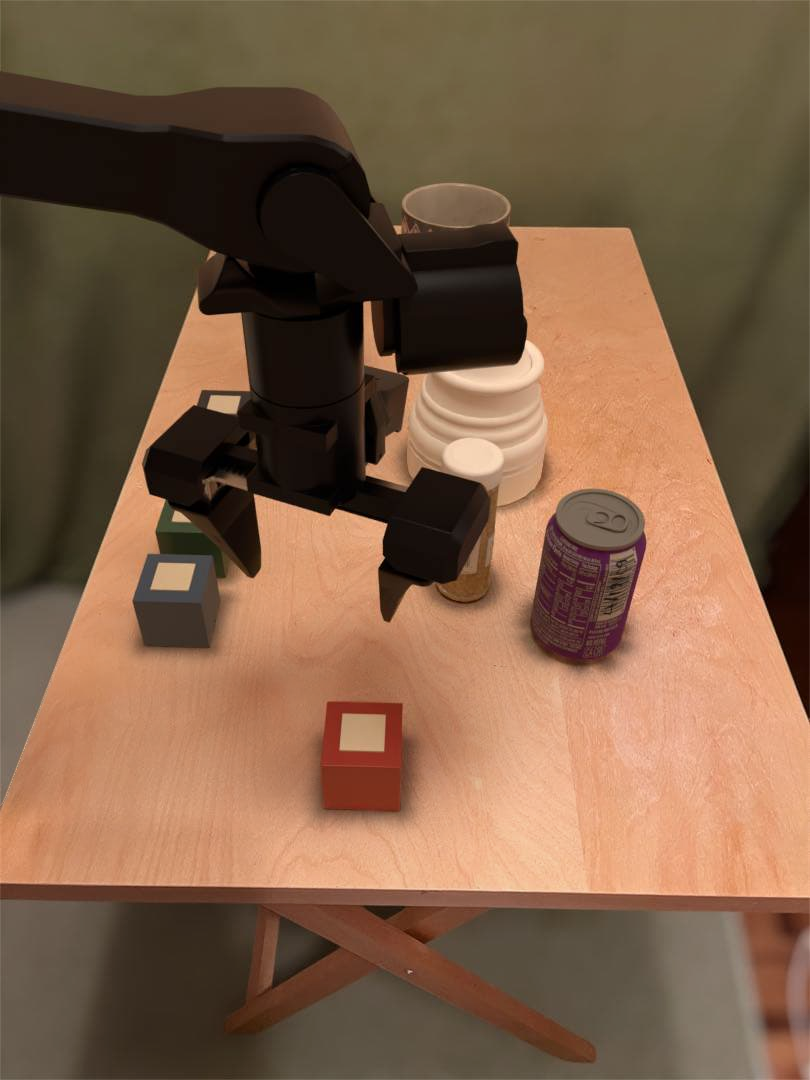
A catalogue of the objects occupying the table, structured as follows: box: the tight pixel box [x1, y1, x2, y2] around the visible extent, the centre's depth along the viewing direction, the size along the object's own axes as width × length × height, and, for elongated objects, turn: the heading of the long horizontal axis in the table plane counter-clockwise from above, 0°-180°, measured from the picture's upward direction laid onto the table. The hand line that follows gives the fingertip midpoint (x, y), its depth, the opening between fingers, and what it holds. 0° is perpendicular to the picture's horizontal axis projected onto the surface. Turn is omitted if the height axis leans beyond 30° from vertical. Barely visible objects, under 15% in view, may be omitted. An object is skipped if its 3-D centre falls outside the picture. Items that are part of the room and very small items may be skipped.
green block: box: [154, 499, 231, 579], centre depth 75 cm, size 5×5×5 cm
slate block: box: [132, 553, 221, 649], centre depth 70 cm, size 5×5×5 cm
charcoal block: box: [196, 389, 257, 450], centre depth 86 cm, size 5×5×5 cm
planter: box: [400, 182, 512, 234], centre depth 109 cm, size 13×13×10 cm
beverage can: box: [530, 488, 647, 661], centre depth 67 cm, size 7×7×12 cm
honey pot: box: [406, 338, 549, 507], centre depth 81 cm, size 13×13×18 cm
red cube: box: [320, 700, 404, 812], centre depth 60 cm, size 5×5×5 cm
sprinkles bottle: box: [435, 438, 504, 603], centre depth 70 cm, size 5×5×13 cm
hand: (320, 594), depth 56 cm, fingers open, 9 cm apart
